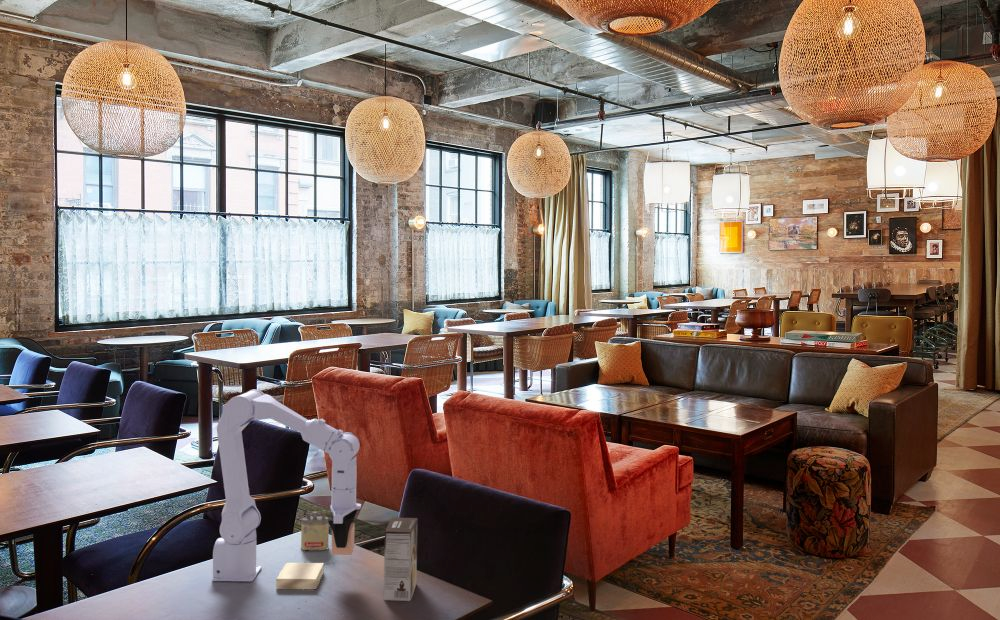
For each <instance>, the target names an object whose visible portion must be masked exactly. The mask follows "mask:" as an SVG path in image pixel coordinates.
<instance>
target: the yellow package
mask: <svg viewBox="0 0 1000 620" xmlns="http://www.w3.org/2000/svg"><path fill="white" fill-rule="evenodd" d="M328 519H329V516H326V510H325V509H324V510H321V511H320V510H319V511H316V510H315V511H313V510H312V511H311V510H307V511H306V516H304V517H302V518H301V523H300V524H301V526H300V527H301V531H300V532H301V535H300V536H301V538H300V541H301V542H300V543H301V545H300V546H301V547H300V550H302V551H305V550H309V551H325V550H324V549H326V550H328V549H329V548H328V547H330V546H329V536H330V535H329V531H330V530H329V529H330V525H329V523H328ZM327 548H328V549H327Z"/></svg>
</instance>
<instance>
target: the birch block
mask: <svg viewBox="0 0 1000 620" xmlns="http://www.w3.org/2000/svg"><path fill="white" fill-rule="evenodd" d="M324 572H325V567H324V562H286V563H285V564H284V565H283V567H282V569H281V570H280V572H279V574H278V576H277V577H276V578H275V580H276V581H275V583H276V584H275V585H276V587H275V589H303V590H302V591H305V590H304V589H316V588H317V589H318V587H319V584H320V582H321V580H322V578H321V577H323V576H322V575H324V574H323V573H324ZM320 579H321V580H320ZM317 586H318V587H317ZM317 589H316V590H317Z"/></svg>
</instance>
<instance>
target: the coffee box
mask: <svg viewBox="0 0 1000 620" xmlns="http://www.w3.org/2000/svg"><path fill="white" fill-rule="evenodd" d="M418 519H419V518H418V517H391V518H390V520H389V522H388V524H387V527H386V529H385V531H384V557H383V559H384V560H383V561H384V565H383V566H384V567H383V571H384V572H383V578H384V579H383V600H384V601H397V602H398V601H402V602H403V601H404V602H410V601H412V598H413V596H414V592H415V589H416V585H417V575H418V574H417V571H418V570H417V568H418V567H417V566H418V564H417V563H418V523H419V522H418Z"/></svg>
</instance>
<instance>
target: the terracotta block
mask: <svg viewBox="0 0 1000 620" xmlns="http://www.w3.org/2000/svg"><path fill="white" fill-rule="evenodd" d="M355 526H356V525H355V522H353V523H351V526H350V529H349V533H348V540H347V544H346V547H345V548H337V547H336V544H335V539H334V534H333V531H332V530H331V555H332V556H333V555H337V556H338V555H339V556H351V555H352V554H353V551H354V549H355Z"/></svg>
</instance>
